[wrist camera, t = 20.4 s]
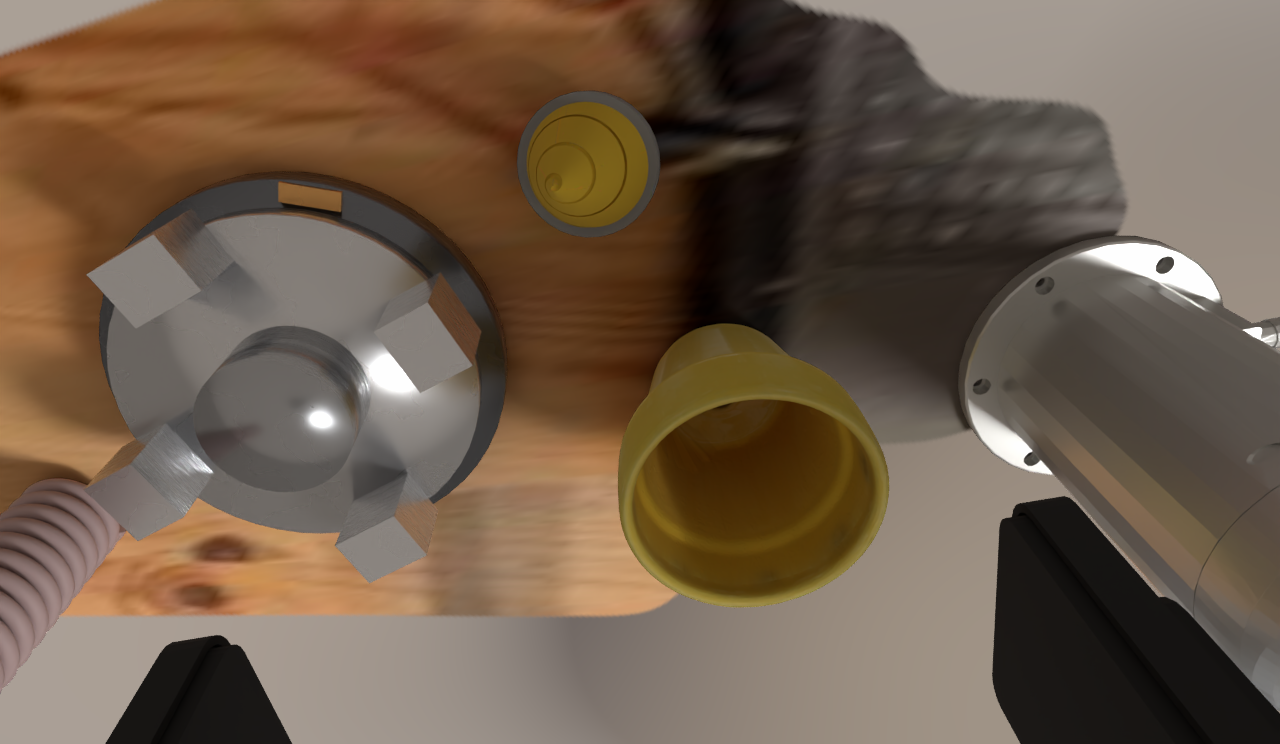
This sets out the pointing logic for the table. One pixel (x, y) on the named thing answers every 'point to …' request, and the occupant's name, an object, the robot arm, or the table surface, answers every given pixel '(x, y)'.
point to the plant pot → (747, 472)
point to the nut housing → (393, 225)
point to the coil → (46, 562)
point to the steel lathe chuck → (287, 381)
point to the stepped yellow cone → (588, 163)
